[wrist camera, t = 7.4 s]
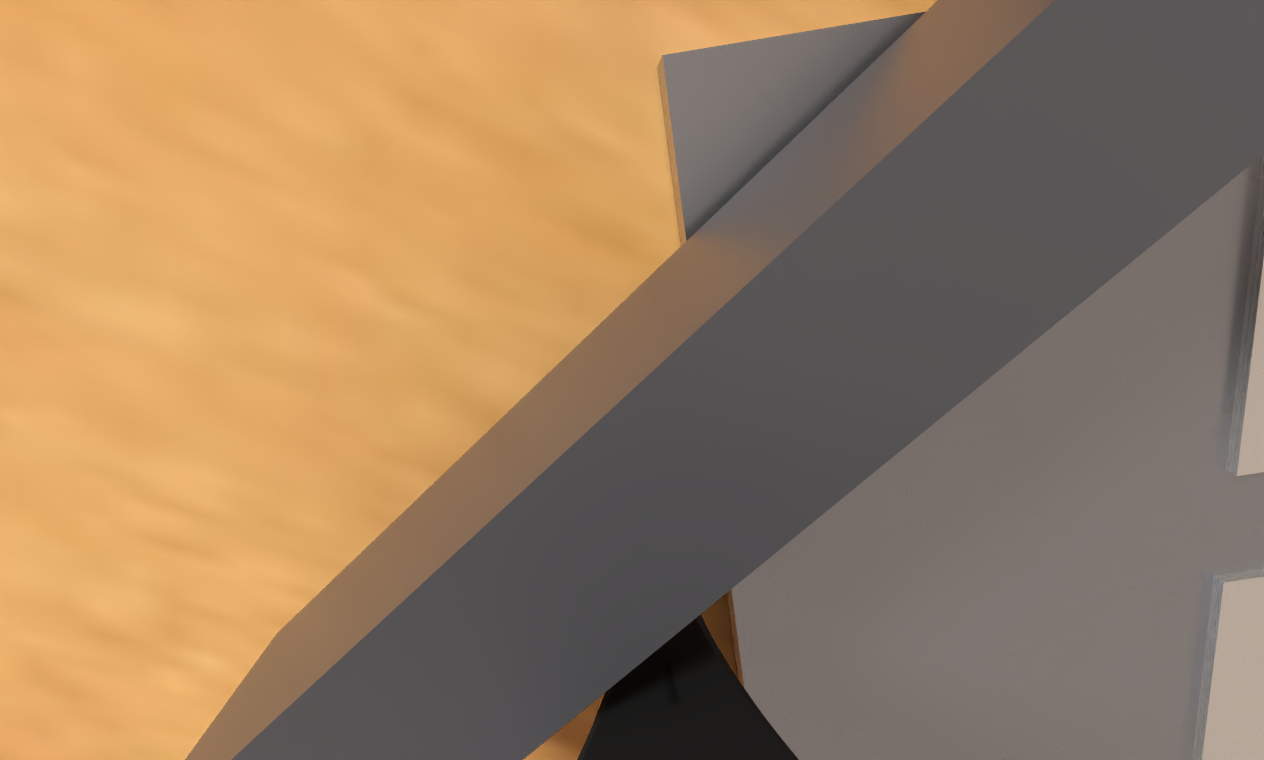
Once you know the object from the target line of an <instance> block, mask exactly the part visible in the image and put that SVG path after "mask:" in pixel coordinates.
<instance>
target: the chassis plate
mask: <svg viewBox="0 0 1264 760" xmlns="http://www.w3.org/2000/svg"><path fill="white" fill-rule="evenodd" d="M924 13H925V12H921V13H915V14H909V15H903V16H897V17H891V18H885V19H879V20H873V21H867V22H861V23H855V24H849V25H843V26H837V27H831V28H825V29H819V30H813V31H807V32H801V33H795V34H788V35H782V36H776V37H770V38H764V39H758V40H752V41H746V42H740V43H734V44H728V45H722V46H716V47H710V48H704V49H698V50H692V51H686V52H680V53H674V54H668V55H662V58H661V60H660V62H659V64H658V67H657V68H658V75H659V83H660V91H661V98H662V106H663V113H664V121H665V129H666V136H667V144H668V151H669V159H670V166H671V174H672V182H673V189H674V197H675V204H676V212H677V219H678V227H679V235H680V242H681V246H682V245H683V244H684V243H685V242H686V241H687V240H688V239H689V238H690V237H691V236H693V235H694V234H695V233H696V232H697V231H698V230H699V229H700V228H701V227H702V226H703V225H704V224H705V223H706V222H707V221H708V220H709V219H710V218H711V217H712V216H713V215H714V214H715V213H717V212H718V211H719V210H720V209H721V208H722V207H723V206H724V205H725V204H726V203H727V202H728V201H729V200H730V199H731V198H732V197H733V196H734V195H735V194H736V193H737V192H738V191H739V190H741V189H742V188H743V187H744V186H745V185H746V184H747V183H748V182H749V181H750V180H751V179H752V178H753V177H754V176H755V175H756V174H757V173H758V172H759V171H760V170H761V169H762V168H763V167H765V166H766V165H767V164H768V163H769V162H770V161H771V160H772V159H773V158H774V157H775V156H776V155H777V154H778V153H779V152H780V151H781V150H782V149H783V148H784V147H785V146H786V145H788V144H789V143H790V142H791V141H792V140H793V139H794V138H795V137H796V136H797V135H798V134H799V133H800V132H801V131H802V130H803V129H804V128H805V127H806V126H807V125H808V124H809V123H810V122H812V121H813V120H814V119H815V118H816V117H817V116H818V115H819V114H820V113H821V112H822V111H823V110H824V109H825V108H826V107H827V106H828V105H829V104H830V103H831V102H832V101H833V100H834V99H836V98H837V97H838V96H839V95H840V94H841V93H842V92H843V91H844V90H845V89H846V88H847V87H848V86H849V85H850V84H851V83H852V82H853V81H854V80H855V79H856V78H857V77H858V76H860V75H861V74H862V73H863V72H864V71H865V70H866V69H867V68H868V67H869V66H870V65H871V64H872V63H873V62H874V61H875V60H876V59H877V58H878V57H879V56H880V55H881V54H883V53H884V52H885V51H886V50H887V49H888V48H889V47H890V46H891V45H892V44H893V43H894V42H895V41H896V40H897V39H898V38H899V37H900V36H901V35H902V34H903V33H904V32H905V31H907V30H908V29H909V28H910V27H911V26H912V25H913V24H914V23H915V22H916V21H917V20H918V19H919V18H920V17H921V16H922V15H923V14H924ZM727 598H728V606H729V613H730V621H731V628H732V636H733V644H734V651H735V659H736V666H737V674H738V680H739V681H740V683H741V684H742V686H743V687H744V688H745V690H746V691H747V693H748V694H749V696H750V697H751V698H752V700H753V701H754V703H755V704H756V705H757V707H758V708H759V710H760V711H761V712H762V714H763V715H764V716H765V718H766V719H767V720H768V722H769V723H770V724H771V726H772V727H773V728H774V729H775V731H776V732H777V733H778V735H779V736H780V737H781V738H782V740H783V741H784V742H785V743H786V744H787V746H788V747H789V748H790V749H791V751H792V752H793V753H794V754H795V756H796V757H797V758H798V759H799V760H1264V154H1263V155H1262V156H1261V157H1260V158H1258V159H1257V160H1256V161H1255V162H1253V163H1252V164H1251V165H1250V166H1249V167H1247V168H1246V169H1245V170H1244V171H1242V172H1241V173H1240V174H1239V175H1238V176H1236V177H1235V178H1234V179H1233V180H1231V181H1230V182H1229V183H1228V184H1227V185H1225V186H1224V187H1223V188H1222V189H1220V190H1219V191H1218V192H1217V193H1215V194H1214V195H1213V196H1212V197H1211V198H1209V199H1208V200H1207V201H1206V202H1204V203H1203V204H1202V205H1201V206H1200V207H1198V208H1197V209H1196V210H1195V211H1193V212H1192V213H1191V214H1190V215H1189V216H1187V217H1186V218H1185V219H1184V220H1182V221H1181V222H1180V223H1179V224H1178V225H1176V226H1175V227H1174V228H1173V229H1171V230H1170V231H1169V232H1168V233H1167V234H1165V235H1164V236H1163V237H1162V238H1160V239H1159V240H1158V241H1157V242H1156V243H1154V244H1153V245H1152V246H1151V247H1149V248H1148V249H1147V250H1146V251H1145V252H1143V253H1142V254H1141V255H1140V256H1138V257H1137V258H1136V259H1135V260H1134V261H1132V262H1131V263H1130V264H1129V265H1127V266H1126V267H1125V268H1124V269H1123V270H1121V271H1120V272H1119V273H1118V274H1116V275H1115V276H1114V277H1113V278H1111V279H1110V280H1109V281H1108V282H1107V283H1105V284H1104V285H1103V286H1102V287H1100V288H1099V289H1098V290H1097V291H1096V292H1094V293H1093V294H1092V295H1091V296H1089V297H1088V298H1087V299H1086V300H1085V301H1083V302H1082V303H1081V304H1080V305H1078V306H1077V307H1076V308H1075V309H1074V310H1072V311H1071V312H1070V313H1069V314H1067V315H1066V316H1065V317H1064V318H1063V319H1061V320H1060V321H1059V322H1058V323H1056V324H1055V325H1054V326H1053V327H1052V328H1050V329H1049V330H1048V331H1047V332H1045V333H1044V334H1043V335H1042V336H1041V337H1039V338H1038V339H1037V340H1036V341H1034V342H1033V343H1032V344H1031V345H1030V346H1028V347H1027V348H1026V349H1025V350H1023V351H1022V352H1021V353H1020V354H1019V355H1017V356H1016V357H1015V358H1014V359H1012V360H1011V361H1010V362H1009V363H1007V364H1006V365H1005V366H1004V367H1003V368H1001V369H1000V370H999V371H998V372H996V373H995V374H994V375H993V376H992V377H990V378H989V379H988V380H987V381H985V382H984V383H983V384H982V385H981V386H979V387H978V388H977V389H976V390H974V391H973V392H972V393H971V394H970V395H968V396H967V397H966V398H965V399H963V400H962V401H961V402H960V403H959V404H957V405H956V406H955V407H954V408H952V409H951V410H950V411H949V412H948V413H946V414H945V415H944V416H943V417H941V418H940V419H939V420H938V421H937V422H935V423H934V424H933V425H932V426H930V427H929V428H928V429H927V430H926V431H924V432H923V433H922V434H921V435H919V436H918V437H917V438H916V439H915V440H913V441H912V442H911V443H910V444H908V445H907V446H906V447H905V448H903V449H902V450H901V451H900V452H899V453H897V454H896V455H895V456H894V457H892V458H891V459H890V460H889V461H888V462H886V463H885V464H884V465H883V466H881V467H880V468H879V469H878V470H877V471H875V472H874V473H873V474H872V475H870V476H869V477H868V478H867V479H866V480H864V481H863V482H862V483H861V484H859V485H858V486H857V487H856V488H855V489H853V490H852V491H851V492H850V493H848V494H847V495H846V496H845V497H844V498H842V499H841V500H840V501H839V502H837V503H836V504H835V505H834V506H833V507H831V508H830V509H829V510H828V511H826V512H825V513H824V514H823V515H822V516H820V517H819V518H818V519H817V520H815V521H814V522H813V523H812V524H810V525H809V526H808V527H807V528H806V529H804V530H803V531H802V532H801V533H799V534H798V535H797V536H796V537H795V538H793V539H792V540H791V541H790V542H788V543H787V544H786V545H785V546H784V547H782V548H781V549H780V550H779V551H777V552H776V553H775V554H774V555H773V556H771V557H770V558H769V559H768V560H766V561H765V562H764V563H763V564H762V565H760V566H759V567H758V568H757V569H755V570H754V571H753V572H752V573H751V574H749V575H748V576H747V577H746V578H744V579H743V580H742V581H741V582H740V583H738V584H737V585H736V586H735V587H733V588H732V589H731V590H730V591H729V592H727Z"/></svg>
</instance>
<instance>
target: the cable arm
mask: <svg viewBox="0 0 1264 760" xmlns="http://www.w3.org/2000/svg"><path fill="white" fill-rule="evenodd" d="M1263 154H1264V0H938V1H937V2H936V3H935V4H934V5H933V6H932V7H931V8H929V9H928V10H927V11H926V12H925V13H924V14H923V15H922V16H921V17H920V18H919V19H918V20H917V21H916V22H915V23H914V24H913V25H912V26H911V27H910V28H909V29H908V30H907V31H905V32H904V33H903V34H902V35H901V36H900V37H899V38H898V39H897V40H896V41H895V42H894V43H893V44H892V45H891V46H890V47H889V48H888V49H887V50H886V51H885V52H884V53H883V54H881V55H880V56H879V57H878V58H877V59H876V60H875V61H874V62H873V63H872V64H871V65H870V66H869V67H868V68H867V69H866V70H865V71H864V72H863V73H862V74H861V75H860V76H858V77H857V78H856V79H855V80H854V81H853V82H852V83H851V84H850V85H849V86H848V87H847V88H846V89H845V90H844V91H843V92H842V93H841V94H840V95H839V96H838V97H837V98H836V99H834V100H833V101H832V102H831V103H830V104H829V105H828V106H827V107H826V108H825V109H824V110H823V111H822V112H821V113H820V114H819V115H818V116H817V117H816V118H815V119H814V120H813V121H812V122H810V123H809V124H808V125H807V126H806V127H805V128H804V129H803V130H802V131H801V132H800V133H799V134H798V135H797V136H796V137H795V138H794V139H793V140H792V141H791V142H790V143H789V144H788V145H786V146H785V147H784V148H783V149H782V150H781V151H780V152H779V153H778V154H777V155H776V156H775V157H774V158H773V159H772V160H771V161H770V162H769V163H768V164H767V165H766V166H765V167H763V168H762V169H761V170H760V171H759V172H758V173H757V174H756V175H755V176H754V177H753V178H752V179H751V180H750V181H749V182H748V183H747V184H746V185H745V186H744V187H743V188H742V189H741V190H739V191H738V192H737V193H736V194H735V195H734V196H733V197H732V198H731V199H730V200H729V201H728V202H727V203H726V204H725V205H724V206H723V207H722V208H721V209H720V210H719V211H718V212H717V213H715V214H714V215H713V216H712V217H711V218H710V219H709V220H708V221H707V222H706V223H705V224H704V225H703V226H702V227H701V228H700V229H699V230H698V231H697V232H696V233H695V234H694V235H693V236H691V237H690V238H689V239H688V240H687V241H686V242H685V243H684V244H683V245H682V246H681V247H680V248H679V249H678V250H677V251H676V252H675V253H674V254H673V255H672V256H671V257H670V258H669V259H667V260H666V261H665V262H664V263H663V264H662V265H661V266H660V267H659V268H658V269H657V270H656V271H655V272H654V273H653V274H652V275H651V276H650V277H649V278H648V279H647V280H646V281H644V282H643V283H642V284H641V285H640V286H639V287H638V288H637V289H636V290H635V291H634V292H633V293H632V294H631V295H630V296H629V297H628V298H627V299H626V300H625V301H624V302H623V303H622V304H620V305H619V306H618V307H617V308H616V309H615V310H614V311H613V312H612V313H611V314H610V315H609V316H608V317H607V318H606V319H605V320H604V321H603V322H602V323H601V324H600V325H599V326H598V327H596V328H595V329H594V330H593V331H592V332H591V333H590V334H589V335H588V336H587V337H586V338H585V339H584V340H583V341H582V342H581V343H580V344H579V345H578V346H577V347H576V348H575V349H574V350H572V351H571V352H570V353H569V354H568V355H567V356H566V357H565V358H564V359H563V360H562V361H561V362H560V363H559V364H558V365H557V366H556V367H555V368H554V369H553V370H552V371H551V372H550V373H548V374H547V375H546V376H545V377H544V378H543V379H542V380H541V381H540V382H539V383H538V384H537V385H536V386H535V387H534V388H533V389H532V390H531V391H530V392H529V393H528V394H527V395H525V396H524V397H523V398H522V399H521V400H520V401H519V402H518V403H517V404H516V405H515V406H514V407H513V408H512V409H511V410H510V411H509V412H508V413H507V414H506V415H505V416H504V417H503V418H501V419H500V420H499V421H498V422H497V423H496V424H495V425H494V426H493V427H492V428H491V429H490V430H489V431H488V432H487V433H486V434H485V435H484V436H483V437H482V438H481V439H480V440H479V441H477V442H476V443H475V444H474V445H473V446H472V447H471V448H470V449H469V450H468V451H467V452H466V453H465V454H464V455H463V456H462V457H461V458H460V459H459V460H458V461H457V462H456V463H455V464H453V465H452V466H451V467H450V468H449V469H448V470H447V471H446V472H445V473H444V474H443V475H442V476H441V477H440V478H439V479H438V480H437V481H436V482H435V483H434V484H433V485H432V486H431V487H429V488H428V489H427V490H426V491H425V492H424V493H423V494H422V495H421V496H420V497H419V498H418V499H417V500H416V501H415V502H414V503H413V504H412V505H411V506H410V507H409V508H408V509H406V510H405V511H404V512H403V513H402V514H401V515H400V516H399V517H398V518H397V519H396V520H395V521H394V522H393V523H392V524H391V525H390V526H389V527H388V528H387V529H386V530H385V531H384V532H382V533H381V534H380V535H379V536H378V537H377V538H376V539H375V540H374V541H373V542H372V543H371V544H370V545H369V546H368V547H367V548H366V549H365V550H364V551H363V552H362V553H361V554H360V555H358V556H357V557H356V558H355V559H354V560H353V561H352V562H351V563H350V564H349V565H348V566H347V567H346V568H345V569H344V570H343V571H342V572H341V573H340V574H339V575H338V576H337V577H336V578H334V579H333V580H332V581H331V582H330V583H329V584H328V585H327V586H326V587H325V588H324V589H323V590H322V591H321V592H320V593H319V594H318V595H317V596H316V597H315V598H314V599H313V600H311V601H310V602H309V603H308V604H307V605H306V606H305V607H304V608H303V609H302V610H301V611H300V612H299V613H298V614H297V615H296V616H295V617H294V618H293V619H292V620H291V621H290V622H289V623H287V624H286V625H285V626H284V627H283V628H282V629H281V630H280V631H279V632H278V633H277V634H276V636H275V637H274V638H273V640H272V641H271V643H270V644H269V645H268V647H267V648H266V649H265V651H264V652H263V654H262V655H261V656H260V658H259V659H258V660H257V662H256V663H255V665H254V666H253V667H252V669H251V670H250V671H249V673H248V674H247V676H246V677H245V678H244V680H243V681H242V682H241V684H240V685H239V687H238V688H237V689H236V691H235V692H234V693H233V695H232V696H231V698H230V699H229V700H228V702H227V703H226V704H225V706H224V707H223V709H222V710H221V711H220V713H219V714H218V715H217V717H216V718H215V720H214V721H213V722H212V724H211V725H210V726H209V728H208V729H207V731H206V732H205V733H204V735H203V736H202V737H201V739H200V740H199V742H198V743H197V744H196V746H195V747H194V748H193V750H192V751H191V753H190V754H189V755H188V757H187V758H186V759H185V760H523V759H524V758H525V757H527V756H528V755H529V754H530V753H532V752H533V751H534V750H535V749H536V748H538V747H539V746H540V745H541V744H543V743H544V742H545V741H546V740H547V739H549V738H550V737H551V736H552V735H554V734H555V733H556V732H557V731H558V730H560V729H561V728H562V727H563V726H565V725H566V724H567V723H568V722H569V721H571V720H572V719H573V718H574V717H576V716H577V715H578V714H579V713H580V712H582V711H583V710H584V709H585V708H587V707H588V706H589V705H590V704H591V703H593V702H594V701H595V700H596V699H598V698H599V697H600V696H601V695H602V694H604V693H605V692H606V691H607V690H609V689H610V688H611V687H612V686H614V685H615V684H616V683H617V682H618V681H620V680H621V679H622V678H623V677H625V676H626V675H627V674H628V673H629V672H631V671H632V670H633V669H634V668H636V667H637V666H638V665H639V664H640V663H642V662H643V661H644V660H645V659H647V658H648V657H649V656H650V655H651V654H653V653H654V652H655V651H656V650H658V649H659V648H660V647H661V646H662V645H664V644H665V643H666V642H667V641H669V640H670V639H671V638H672V637H673V636H675V635H676V634H677V633H678V632H680V631H681V630H682V629H683V628H684V627H686V626H687V625H688V624H689V623H691V622H692V621H693V620H694V619H695V618H697V617H698V616H699V615H700V614H702V613H703V612H704V611H705V610H706V609H708V608H709V607H710V606H711V605H713V604H714V603H715V602H716V601H718V600H719V599H720V598H721V597H722V596H724V595H725V594H726V593H727V592H729V591H730V590H731V589H732V588H733V587H735V586H736V585H737V584H738V583H740V582H741V581H742V580H743V579H744V578H746V577H747V576H748V575H749V574H751V573H752V572H753V571H754V570H755V569H757V568H758V567H759V566H760V565H762V564H763V563H764V562H765V561H766V560H768V559H769V558H770V557H771V556H773V555H774V554H775V553H776V552H777V551H779V550H780V549H781V548H782V547H784V546H785V545H786V544H787V543H788V542H790V541H791V540H792V539H793V538H795V537H796V536H797V535H798V534H799V533H801V532H802V531H803V530H804V529H806V528H807V527H808V526H809V525H810V524H812V523H813V522H814V521H815V520H817V519H818V518H819V517H820V516H822V515H823V514H824V513H825V512H826V511H828V510H829V509H830V508H831V507H833V506H834V505H835V504H836V503H837V502H839V501H840V500H841V499H842V498H844V497H845V496H846V495H847V494H848V493H850V492H851V491H852V490H853V489H855V488H856V487H857V486H858V485H859V484H861V483H862V482H863V481H864V480H866V479H867V478H868V477H869V476H870V475H872V474H873V473H874V472H875V471H877V470H878V469H879V468H880V467H881V466H883V465H884V464H885V463H886V462H888V461H889V460H890V459H891V458H892V457H894V456H895V455H896V454H897V453H899V452H900V451H901V450H902V449H903V448H905V447H906V446H907V445H908V444H910V443H911V442H912V441H913V440H915V439H916V438H917V437H918V436H919V435H921V434H922V433H923V432H924V431H926V430H927V429H928V428H929V427H930V426H932V425H933V424H934V423H935V422H937V421H938V420H939V419H940V418H941V417H943V416H944V415H945V414H946V413H948V412H949V411H950V410H951V409H952V408H954V407H955V406H956V405H957V404H959V403H960V402H961V401H962V400H963V399H965V398H966V397H967V396H968V395H970V394H971V393H972V392H973V391H974V390H976V389H977V388H978V387H979V386H981V385H982V384H983V383H984V382H985V381H987V380H988V379H989V378H990V377H992V376H993V375H994V374H995V373H996V372H998V371H999V370H1000V369H1001V368H1003V367H1004V366H1005V365H1006V364H1007V363H1009V362H1010V361H1011V360H1012V359H1014V358H1015V357H1016V356H1017V355H1019V354H1020V353H1021V352H1022V351H1023V350H1025V349H1026V348H1027V347H1028V346H1030V345H1031V344H1032V343H1033V342H1034V341H1036V340H1037V339H1038V338H1039V337H1041V336H1042V335H1043V334H1044V333H1045V332H1047V331H1048V330H1049V329H1050V328H1052V327H1053V326H1054V325H1055V324H1056V323H1058V322H1059V321H1060V320H1061V319H1063V318H1064V317H1065V316H1066V315H1067V314H1069V313H1070V312H1071V311H1072V310H1074V309H1075V308H1076V307H1077V306H1078V305H1080V304H1081V303H1082V302H1083V301H1085V300H1086V299H1087V298H1088V297H1089V296H1091V295H1092V294H1093V293H1094V292H1096V291H1097V290H1098V289H1099V288H1100V287H1102V286H1103V285H1104V284H1105V283H1107V282H1108V281H1109V280H1110V279H1111V278H1113V277H1114V276H1115V275H1116V274H1118V273H1119V272H1120V271H1121V270H1123V269H1124V268H1125V267H1126V266H1127V265H1129V264H1130V263H1131V262H1132V261H1134V260H1135V259H1136V258H1137V257H1138V256H1140V255H1141V254H1142V253H1143V252H1145V251H1146V250H1147V249H1148V248H1149V247H1151V246H1152V245H1153V244H1154V243H1156V242H1157V241H1158V240H1159V239H1160V238H1162V237H1163V236H1164V235H1165V234H1167V233H1168V232H1169V231H1170V230H1171V229H1173V228H1174V227H1175V226H1176V225H1178V224H1179V223H1180V222H1181V221H1182V220H1184V219H1185V218H1186V217H1187V216H1189V215H1190V214H1191V213H1192V212H1193V211H1195V210H1196V209H1197V208H1198V207H1200V206H1201V205H1202V204H1203V203H1204V202H1206V201H1207V200H1208V199H1209V198H1211V197H1212V196H1213V195H1214V194H1215V193H1217V192H1218V191H1219V190H1220V189H1222V188H1223V187H1224V186H1225V185H1227V184H1228V183H1229V182H1230V181H1231V180H1233V179H1234V178H1235V177H1236V176H1238V175H1239V174H1240V173H1241V172H1242V171H1244V170H1245V169H1246V168H1247V167H1249V166H1250V165H1251V164H1252V163H1253V162H1255V161H1256V160H1257V159H1258V158H1260V157H1261V156H1262V155H1263Z"/></svg>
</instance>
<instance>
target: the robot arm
mask: <svg viewBox="0 0 1264 760" xmlns="http://www.w3.org/2000/svg"><path fill="white" fill-rule="evenodd" d="M577 760H799V759H798V758H797V757H796V756H795V754H794V753H793V752H792V751H791V749H790V748H789V747H788V746H787V744H786V743H785V742H784V741H783V740H782V738H781V737H780V736H779V735H778V733H777V732H776V731H775V729H774V728H773V727H772V726H771V724H770V723H769V722H768V720H767V719H766V718H765V716H764V715H763V714H762V712H761V711H760V710H759V708H758V707H757V705H756V704H755V703H754V701H753V700H752V698H751V697H750V696H749V694H748V693H747V691H746V690H745V688H744V687H743V686H742V684H741V683H740V681H739V680H738V679H737V677H736V676H735V674H734V673H733V671H732V669H731V668H730V666H729V665H728V663H727V662H726V660H725V658H724V657H723V655H722V653H721V652H720V650H719V648H718V647H717V645H716V643H715V642H714V640H713V638H712V636H711V634H710V632H709V631H708V629H707V627H706V625H705V622H704V620H703V618H702V616H701V614H700V615H699V616H698V617H697V618H695V619H694V620H693V621H692V622H691V623H689V624H688V625H687V626H686V627H684V628H683V629H682V630H681V631H680V632H678V633H677V634H676V635H675V636H673V637H672V638H671V639H670V640H669V641H667V642H666V643H665V644H664V645H662V646H661V647H660V648H659V649H658V650H656V651H655V652H654V653H653V654H651V655H650V656H649V657H648V658H647V659H645V660H644V661H643V662H642V663H640V664H639V665H638V666H637V667H636V668H634V669H633V670H632V671H631V672H629V673H628V674H627V675H626V676H625V677H623V678H622V679H621V680H620V681H618V682H617V683H616V684H615V685H614V686H612V687H611V688H610V689H609V690H607V691H606V692H605V695H604V697H603V700H602V702H601V705H600V708H599V710H598V713H597V716H596V718H595V721H594V723H593V726H592V728H591V731H590V733H589V735H588V738H587V740H586V742H585V744H584V746H583V748H582V751H581V753H580V755H579V757H578V759H577Z"/></svg>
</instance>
